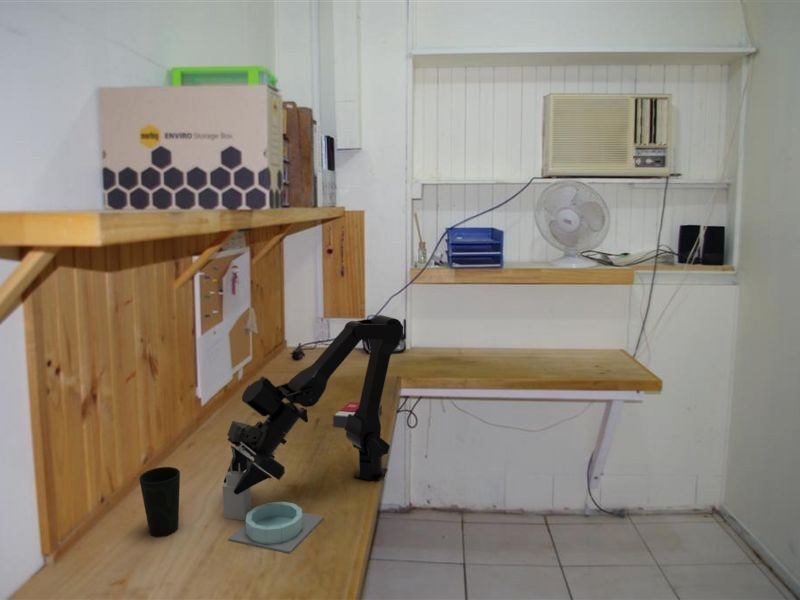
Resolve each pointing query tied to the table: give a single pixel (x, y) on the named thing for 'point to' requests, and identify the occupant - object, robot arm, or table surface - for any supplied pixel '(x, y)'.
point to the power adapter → (235, 497)
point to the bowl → (274, 522)
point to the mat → (307, 526)
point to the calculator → (342, 415)
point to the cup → (161, 500)
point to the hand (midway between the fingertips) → (230, 488)
